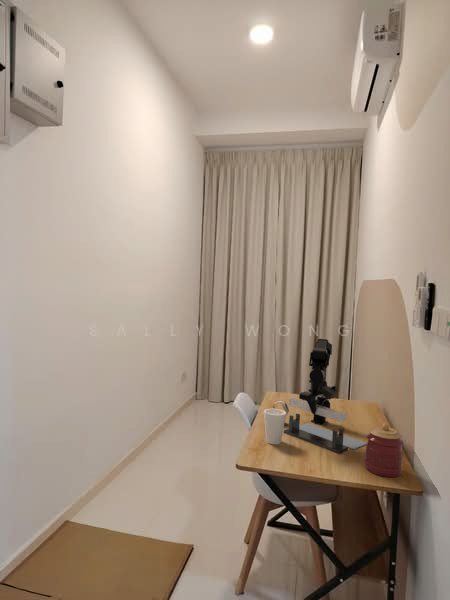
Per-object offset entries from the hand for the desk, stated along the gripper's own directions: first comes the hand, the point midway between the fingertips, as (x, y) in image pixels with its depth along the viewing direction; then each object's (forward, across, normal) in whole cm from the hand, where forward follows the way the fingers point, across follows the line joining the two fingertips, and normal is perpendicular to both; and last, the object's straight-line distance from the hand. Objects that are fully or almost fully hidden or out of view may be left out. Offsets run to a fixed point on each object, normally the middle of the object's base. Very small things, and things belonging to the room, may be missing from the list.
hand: (316, 413), depth 178 cm
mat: (+12, +11, 0) cm, 16 cm away
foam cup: (+12, -16, +10) cm, 23 cm away
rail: (0, 0, 0) cm, 0 cm away
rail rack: (+12, 0, 0) cm, 12 cm away
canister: (+12, -3, -33) cm, 35 cm away
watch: (+12, +5, +24) cm, 27 cm away
